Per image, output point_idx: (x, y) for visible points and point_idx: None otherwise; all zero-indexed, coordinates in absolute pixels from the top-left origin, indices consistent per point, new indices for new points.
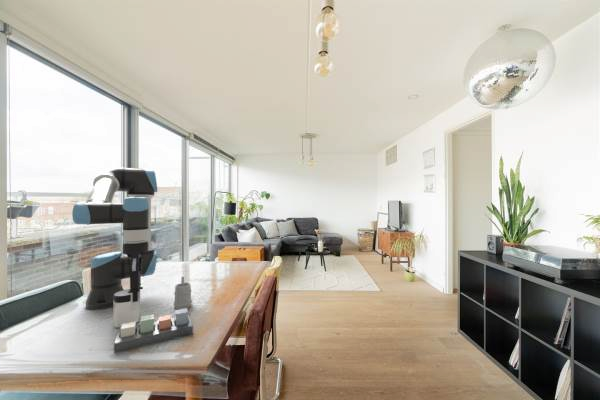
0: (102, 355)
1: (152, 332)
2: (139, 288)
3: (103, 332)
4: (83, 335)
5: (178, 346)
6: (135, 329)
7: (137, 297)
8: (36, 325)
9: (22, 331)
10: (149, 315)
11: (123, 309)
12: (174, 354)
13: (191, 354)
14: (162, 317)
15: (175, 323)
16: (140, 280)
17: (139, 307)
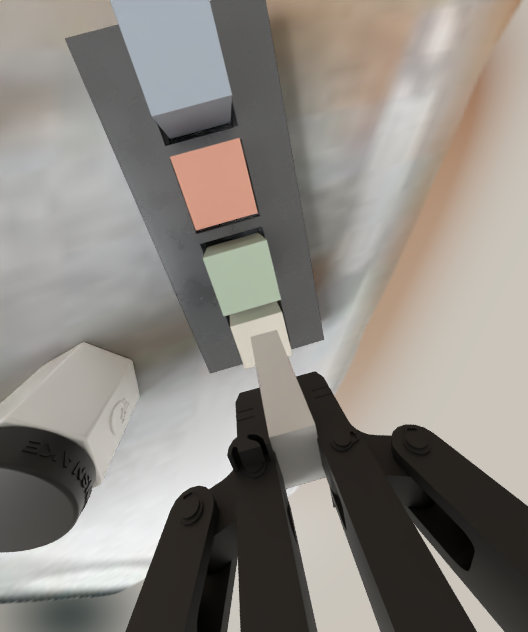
0: (315, 349)
1: (280, 231)
2: (333, 454)
3: (169, 411)
4: (182, 447)
5: (350, 95)
6: (248, 310)
7: (330, 392)
8: (107, 561)
9: (140, 562)
10: (214, 278)
11: (108, 426)
12: (405, 104)
13: (440, 12)
14: (205, 204)
15: (190, 132)
16: (165, 578)
17: (279, 339)
